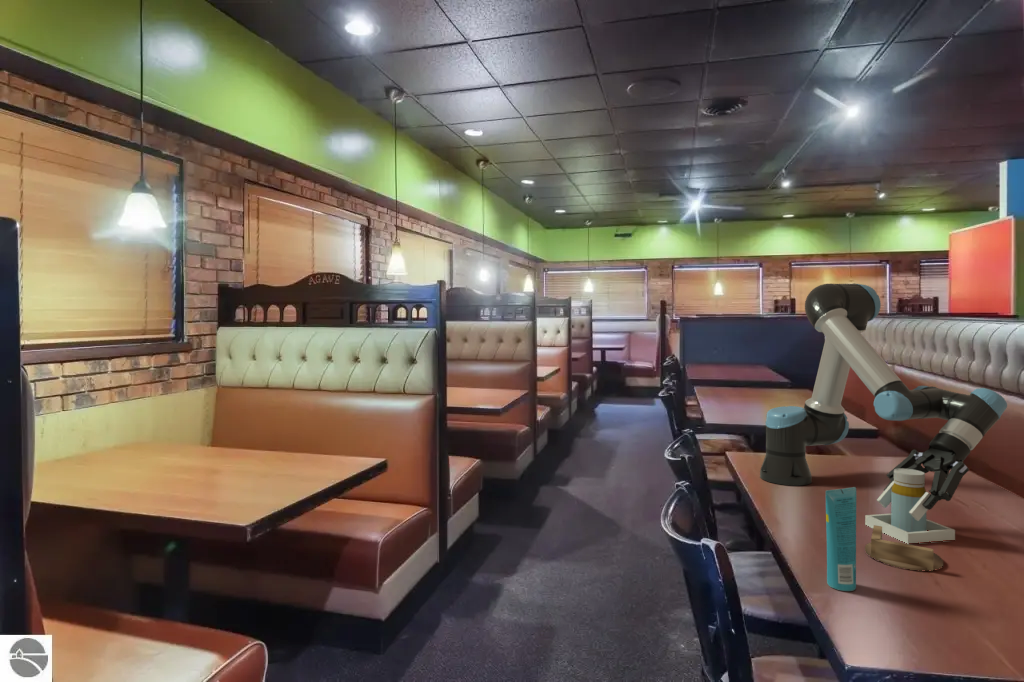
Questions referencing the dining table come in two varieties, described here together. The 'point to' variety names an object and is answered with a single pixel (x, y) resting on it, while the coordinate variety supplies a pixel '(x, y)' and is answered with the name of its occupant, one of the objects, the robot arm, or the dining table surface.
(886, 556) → the v block
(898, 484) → the bottle
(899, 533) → the grey frame
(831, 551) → the tube
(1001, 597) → the dining table surface
